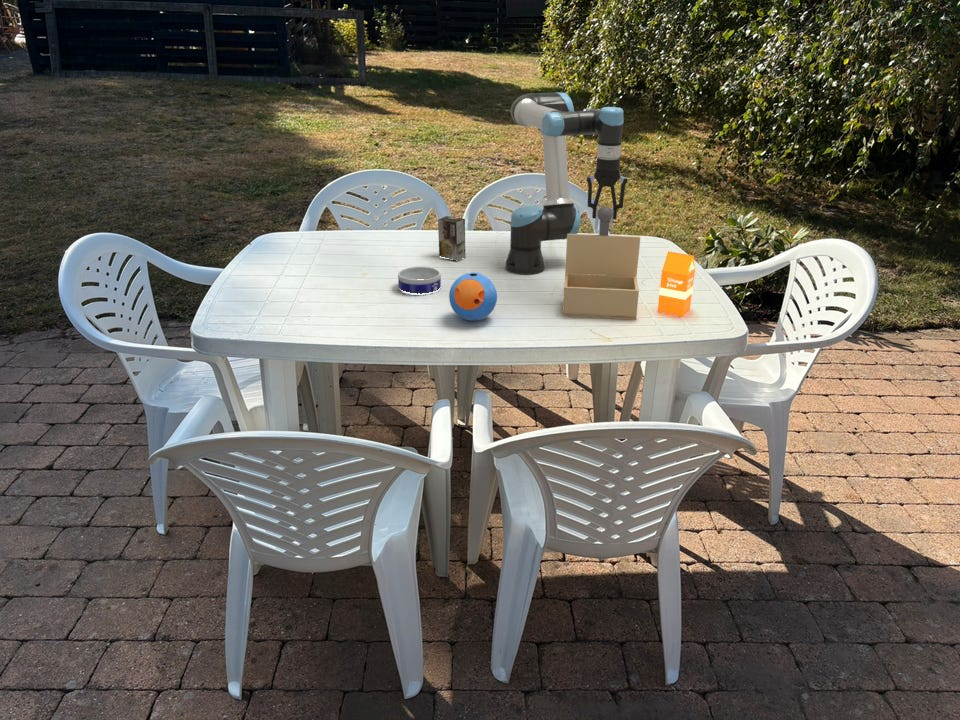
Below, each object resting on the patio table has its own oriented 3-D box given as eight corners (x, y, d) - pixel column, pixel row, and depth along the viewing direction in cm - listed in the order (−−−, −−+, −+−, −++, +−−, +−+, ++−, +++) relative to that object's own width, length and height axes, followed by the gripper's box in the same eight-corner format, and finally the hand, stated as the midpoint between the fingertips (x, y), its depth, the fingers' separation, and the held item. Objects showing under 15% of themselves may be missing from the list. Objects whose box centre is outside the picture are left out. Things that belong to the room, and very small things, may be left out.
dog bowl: (417, 278, 289) (416, 263, 286) (449, 287, 281) (449, 271, 278) (389, 290, 278) (389, 274, 275) (423, 299, 270) (422, 283, 267)
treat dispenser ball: (500, 312, 258) (501, 268, 252) (491, 329, 245) (491, 284, 238) (456, 308, 262) (455, 265, 255) (444, 325, 248) (443, 280, 241)
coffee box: (466, 258, 311) (465, 218, 304) (457, 262, 306) (456, 222, 299) (447, 254, 315) (446, 215, 308) (438, 258, 310) (437, 219, 304)
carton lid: (568, 207, 251) (568, 203, 255) (565, 274, 263) (565, 268, 267) (643, 210, 248) (642, 205, 253) (636, 277, 260) (636, 271, 264)
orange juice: (682, 316, 255) (689, 258, 246) (657, 311, 259) (663, 254, 250) (690, 309, 261) (697, 252, 252) (665, 304, 265) (671, 248, 256)
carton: (562, 316, 255) (563, 287, 251) (563, 300, 268) (565, 273, 263) (636, 319, 252) (638, 290, 248) (634, 304, 265) (636, 276, 261)
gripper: (581, 159, 248) (577, 230, 258) (636, 160, 246) (629, 232, 256) (581, 154, 254) (577, 224, 264) (635, 156, 252) (628, 225, 262)
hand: (603, 227), depth 260 cm, fingers open, 4 cm apart
